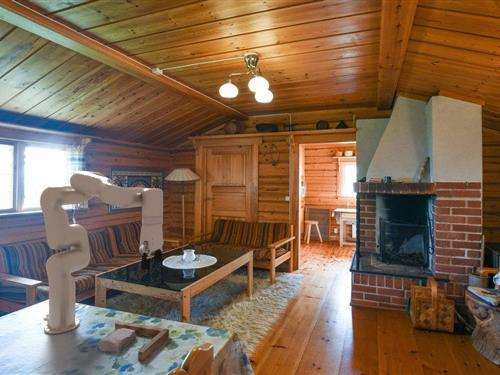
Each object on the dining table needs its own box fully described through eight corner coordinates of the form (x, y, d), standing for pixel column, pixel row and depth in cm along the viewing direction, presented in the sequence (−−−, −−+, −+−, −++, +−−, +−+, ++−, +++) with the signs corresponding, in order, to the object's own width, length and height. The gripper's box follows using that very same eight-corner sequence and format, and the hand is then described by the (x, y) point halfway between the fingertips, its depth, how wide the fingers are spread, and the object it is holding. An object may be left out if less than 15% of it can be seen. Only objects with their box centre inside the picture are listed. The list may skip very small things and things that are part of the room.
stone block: (95, 355, 110) (119, 353, 108) (93, 342, 111) (117, 340, 109) (116, 340, 122) (138, 337, 120) (114, 328, 122) (136, 325, 120)
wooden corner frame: (86, 349, 111) (86, 341, 110) (118, 328, 127) (118, 321, 127) (143, 360, 104) (143, 352, 104) (168, 336, 120) (169, 329, 120)
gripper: (154, 217, 124) (153, 259, 124) (130, 223, 106) (130, 271, 107) (171, 218, 122) (171, 260, 123) (150, 224, 105) (150, 272, 106)
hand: (152, 265), depth 115 cm, fingers open, 9 cm apart
